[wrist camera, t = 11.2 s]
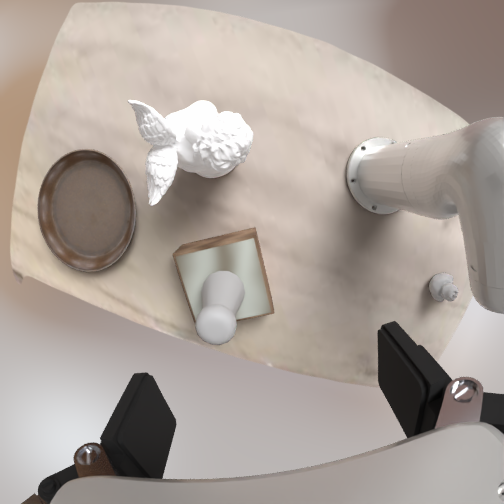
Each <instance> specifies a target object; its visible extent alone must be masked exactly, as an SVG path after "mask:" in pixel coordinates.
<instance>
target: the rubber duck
mask: <svg viewBox="0 0 504 504" xmlns="http://www.w3.org/2000/svg"><path fill="white" fill-rule="evenodd" d="M429 290H430V291H431V295H432V297H433V298H434V299H435V300H437V301H440V302H442V301H443V300H444V299H446V300H447V301H453V300H454V299H455V298H456V297H457V293H458V288H457V287H456V286H455V285H454V284H453V277H452V276H451V275H450V274H448V273H440V274H436V275H435V276H433V278H432V279H431V281H430V284H429Z"/></svg>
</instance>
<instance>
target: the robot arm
mask: <svg viewBox="0 0 504 504" xmlns="http://www.w3.org/2000/svg"><path fill="white" fill-rule="evenodd" d="M361 148H362V149H363V150H361ZM351 180H353V182H351ZM347 183H348V186H349V189H350V192H351V193H352V195H353V197H354V199H355V200H356V201H357V202H358V203H359V204H360V205H361V206H362V207H363V208H365V209H367V210H368V211H371V212H373V213H377V214H390V213H394V212H396V211H398V210H403V211H407V212H411V213H415V214H418V215H422V216H426V217H429V218H433V219H440V220H442V219H449V218H452V217H455V216H457V215H459V220H460V225H461V230H462V232H463V238H464V245H465V251H466V258H467V267H468V274H469V281H470V287H471V291H472V293H473V296H474V297H475V299H476V301H477V302H478V303H479V304H480V305H481V306H482V307H484V308H485V309H487V310H490V311H492V312H496V313H502V314H504V117H495V118H488V119H484V120H481V121H478V122H475V123H473V124H470V125H468V126H466V127H463V128H461V129H459V130H456V131H453V132H450V133H447V134H443V135H438V136H433V137H427V138H422V139H416V140H410V141H405V142H399V143H397V142H396V141H394V140H391V139H389V138H384V137H375V138H371V139H368V140H365V141H363V142H362V143H360V144H359V145H358V146H357V147H356V148H355V149H354V151H353V152H352V154H351V156H350V158H349V161H348V165H347ZM372 206H373V208H372ZM378 382H379V386H380V388H381V390H382V392H383V393H384V395H385V397H386V399H387V401H388V402H389V404H390V406H391V408H392V410H393V412H394V414H395V415H396V417H397V419H398V421H399V423H400V425H401V427H402V428H403V431H404V432H405V434H406V436H407V439H404V440H401V441H399V442H396V443H393V444H390V445H387V446H384V447H381V448H378V449H375V450H372V451H368V452H365V453H362V454H359V455H355V456H352V457H348V458H345V459H341V460H337V461H333V462H329V463H325V464H320V465H316V466H311V467H306V468H301V469H296V470H290V471H284V472H279V473H272V474H264V475H255V476H246V477H236V478H219V479H162V478H163V473H164V470H165V466H166V462H167V458H168V455H169V451H170V447H171V443H172V439H173V436H174V432H175V428H176V419H175V417H174V415H173V414H172V412H171V410H170V408H169V406H168V404H167V403H166V401H165V399H164V397H163V395H162V393H161V391H160V389H159V388H158V385H157V383H156V381H155V380H154V378H153V376H151V375H149V374H148V373H135V374H134V375H133V376H132V378H131V380H130V382H129V384H128V385H127V387H126V389H125V391H124V393H123V395H122V397H121V399H120V401H119V403H118V404H117V406H116V408H115V410H114V412H113V414H112V416H111V418H110V420H109V422H108V424H107V426H106V428H105V430H104V431H103V433H102V435H101V437H100V439H101V443H100V444H98V443H87V444H84V445H83V446H81V447H80V448H79V449H77V451H76V452H75V455H74V463H75V464H74V465H72V466H70V467H68V468H66V469H64V470H62V471H60V472H58V473H55V474H53V475H51V476H49V477H47V478H45V479H44V480H43V481H42V482H41V483H40V485H39V487H38V495H36V494H33V495H32V496H30V497H29V498H28V499H27V500H25V501H24V502H23V503H22V504H504V394H495V393H485V392H483V386H482V384H481V383H480V382H479V381H478V380H476V379H474V378H471V377H460V378H456V379H455V380H452V379H451V378H450V377H449V375H448V374H447V373H446V372H445V371H444V370H443V369H442V367H441V366H440V365H439V364H438V363H437V362H436V361H435V359H434V358H433V357H432V356H431V355H430V354H429V353H428V352H427V350H426V349H425V348H424V347H423V346H422V345H418V346H417V344H416V343H415V342H414V341H413V340H412V339H411V338H410V337H409V335H408V334H407V333H406V332H405V331H404V330H403V329H402V328H401V327H400V326H399V324H398V323H397V322H396V321H393V322H390V323H387V324H384V325H382V326H381V329H380V330H378Z"/></svg>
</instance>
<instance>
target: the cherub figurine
mask: <svg viewBox="0 0 504 504" xmlns="http://www.w3.org/2000/svg"><path fill="white" fill-rule="evenodd" d="M128 103H130V104H131V105H132V108H133V110H134V111H135V115H136V121H137V124H138V126H139V131H140V134H141V135H142V137H143V138H144V140H145V141H147V142H148V143H150V144H151V145H154V146H153V147H152V148H151V150H150V151H149V153H148V156H147V160H146V175H147V183H148V187H147V188H148V191H149V193H148V198H150V199H149V204H151V205H150V206H153V205H155V204H157V203H158V202H159V200H160V199H161V198H162V196H163V195H165V193H166V191H167V189H168V188H169V187H170V186H171V184H172V182H173V180H174V176H175V173H176V170H177V167H179V168H181V169H183V170H185V171H187V172H195V173H197V174H198V175H200V176H203V177H206V178H217V177H221V176H223V175H225V174H227V173H229V172H230V171H231V170H232V169H233V168H234V167H235V166H237V165H239V164H240V163H243V162H245V160H246V157H247V155H248V153H249V152H250V149H251V145H252V141H253V132H252V131H251V128H250V127H249V126H248V125H247V124H246V123H245V122H244V120H243V119H242V118H241V115H240V114H238V113H235V114H233V113H232V112H228V111H225V112H222V113H220V114H219V113H217V110H216V107H215V106H214V105H213V104H212V103H210V102H208V101H197V102H195V103H193V104H192V105H190V106H189V107H188V108H186V109H184V110H180V111H177V112H176V113H171V114H169V115H167V116H166V118H165V119H164V118H163V117H162V116H161V115H160V114H158V112H157V111H155V109H154V108H152V107H149V106H148V105H146V104H144V103H142V102H139V101H135V100H129V101H128Z"/></svg>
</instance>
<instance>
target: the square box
mask: <svg viewBox="0 0 504 504" xmlns="http://www.w3.org/2000/svg"><path fill="white" fill-rule="evenodd" d="M173 257H174V261H175V264H176V267H177V270H178V274H179V277H180V280H181V283H182V286H183V289H184V293H185V296H186V299H187V302H188V305H189V308H190V311H191V314H192V316H193V319H194V322H195V323H196V319H197V316H198V314H199V313H200V311H201V310H202V295H201V290H202V286H203V282H204V281H205V280H206V278H207V277H208V276H209V275H210V274H212V273H215V272H217V271H229V272H231V273H233V274H235V275H237V276H238V277H239V278H240V280H241V281H242V282H243V285H244V290H245V295H244V299H243V302H242V304H241V306H240V308H239V310H238V312H237V314H236V316H235V318H236V321H240V320H245V319H250V318H255V317H259V316H264V315H269V314H273V313H274V308H273V302H272V297H271V292H270V288H269V284H268V279H267V275H266V271H265V266H264V262H263V258H262V253H261V249H260V245H259V241H258V236H257V232H256V228H250V229H246V230H242V231H238V232H233V233H229V234H225V235H221V236H216V237H212V238H208V239H204V240H200V241H196V242H192V243H187V244H183V245H181V246H180V247H179V248H178V249H177V250H176V251H175V252H174V253H173Z"/></svg>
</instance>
